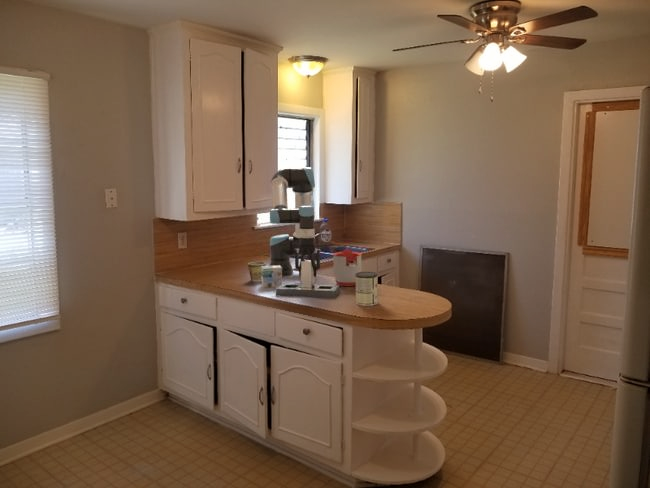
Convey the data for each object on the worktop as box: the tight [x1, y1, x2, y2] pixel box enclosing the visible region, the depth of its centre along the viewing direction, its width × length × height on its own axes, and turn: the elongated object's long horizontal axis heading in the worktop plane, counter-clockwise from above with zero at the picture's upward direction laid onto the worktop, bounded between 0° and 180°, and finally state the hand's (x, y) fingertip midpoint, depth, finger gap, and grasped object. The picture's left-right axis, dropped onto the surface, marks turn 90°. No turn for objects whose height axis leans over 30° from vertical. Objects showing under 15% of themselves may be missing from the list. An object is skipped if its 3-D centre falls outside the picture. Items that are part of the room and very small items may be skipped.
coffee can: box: [355, 271, 379, 307], centre depth 256 cm, size 10×10×14 cm
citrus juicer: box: [332, 248, 362, 287], centre depth 296 cm, size 16×17×20 cm
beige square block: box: [300, 259, 315, 289], centre depth 277 cm, size 5×5×15 cm
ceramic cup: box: [247, 261, 266, 283], centre depth 313 cm, size 13×10×10 cm
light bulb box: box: [260, 265, 283, 289], centre depth 296 cm, size 11×7×11 cm, turn 105°
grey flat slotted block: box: [275, 282, 341, 299], centre depth 278 cm, size 13×30×4 cm, turn 77°
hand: (307, 282), depth 277 cm, fingers closed on beige square block, 5 cm apart
